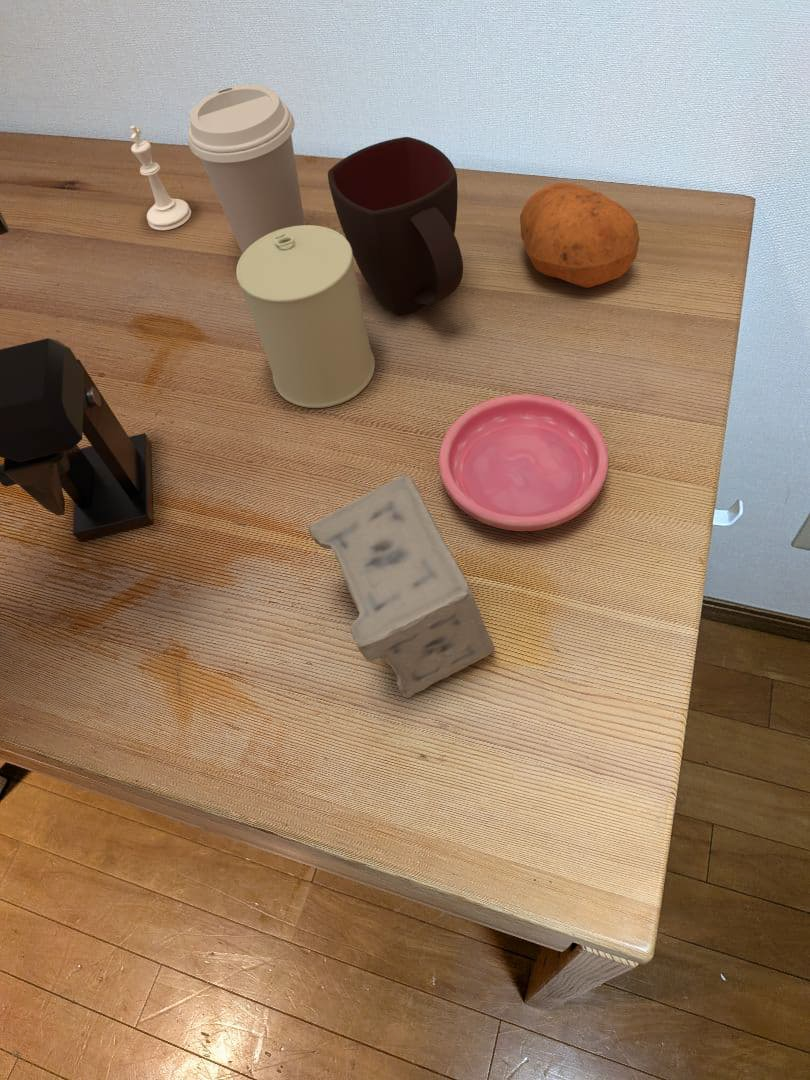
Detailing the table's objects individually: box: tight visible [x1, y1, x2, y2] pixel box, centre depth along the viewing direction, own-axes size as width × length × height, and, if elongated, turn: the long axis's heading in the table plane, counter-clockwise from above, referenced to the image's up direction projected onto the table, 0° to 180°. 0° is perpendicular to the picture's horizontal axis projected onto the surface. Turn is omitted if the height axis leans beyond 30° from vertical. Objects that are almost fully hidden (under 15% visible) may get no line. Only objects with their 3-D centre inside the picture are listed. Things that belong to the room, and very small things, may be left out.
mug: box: [327, 136, 464, 316], centre depth 65 cm, size 10×14×12 cm
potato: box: [519, 182, 640, 288], centre depth 67 cm, size 9×11×8 cm
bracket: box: [59, 358, 154, 542], centre depth 57 cm, size 9×6×12 cm, turn 12°
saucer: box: [438, 393, 609, 532], centre depth 56 cm, size 12×12×3 cm
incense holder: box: [308, 474, 496, 699], centre depth 47 cm, size 10×8×10 cm
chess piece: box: [129, 125, 192, 231], centre depth 79 cm, size 5×5×10 cm
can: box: [235, 224, 376, 409], centre depth 61 cm, size 9×9×12 cm
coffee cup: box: [187, 84, 306, 254], centre depth 70 cm, size 10×10×15 cm
